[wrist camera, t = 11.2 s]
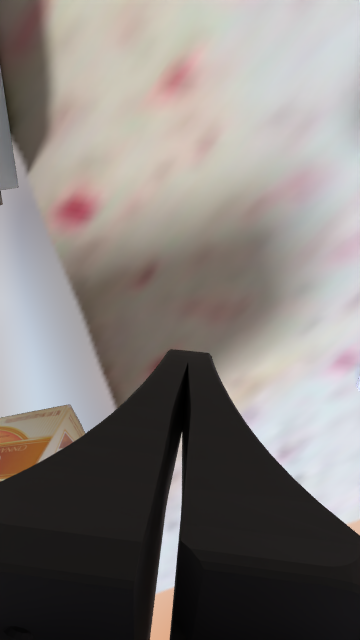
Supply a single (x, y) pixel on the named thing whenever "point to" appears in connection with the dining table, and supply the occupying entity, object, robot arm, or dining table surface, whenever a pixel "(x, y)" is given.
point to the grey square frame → (6, 148)
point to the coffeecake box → (35, 437)
